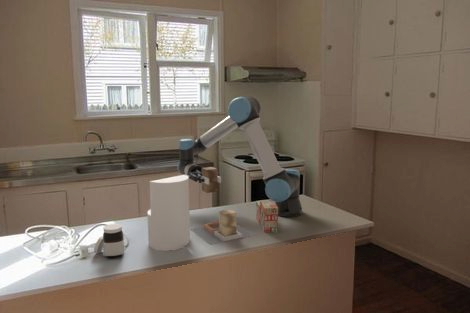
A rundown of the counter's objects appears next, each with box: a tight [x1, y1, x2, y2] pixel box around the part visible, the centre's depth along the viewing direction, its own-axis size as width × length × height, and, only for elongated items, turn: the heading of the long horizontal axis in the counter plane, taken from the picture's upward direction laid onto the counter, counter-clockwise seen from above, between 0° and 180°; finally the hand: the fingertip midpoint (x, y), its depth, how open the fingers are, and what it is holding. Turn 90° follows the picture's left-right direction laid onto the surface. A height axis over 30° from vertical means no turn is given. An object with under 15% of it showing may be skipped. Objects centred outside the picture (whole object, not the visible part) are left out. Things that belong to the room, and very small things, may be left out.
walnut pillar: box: [201, 166, 218, 194], centre depth 189 cm, size 6×6×11 cm
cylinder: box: [146, 174, 191, 252], centre depth 166 cm, size 17×17×28 cm
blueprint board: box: [190, 221, 256, 245], centre depth 178 cm, size 22×20×2 cm
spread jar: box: [93, 223, 125, 260], centre depth 155 cm, size 12×11×12 cm
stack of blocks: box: [255, 199, 279, 234], centre depth 188 cm, size 21×6×12 cm, turn 7°
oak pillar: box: [218, 208, 237, 237], centre depth 173 cm, size 6×6×11 cm
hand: (214, 180), depth 185 cm, fingers closed on walnut pillar, 5 cm apart
